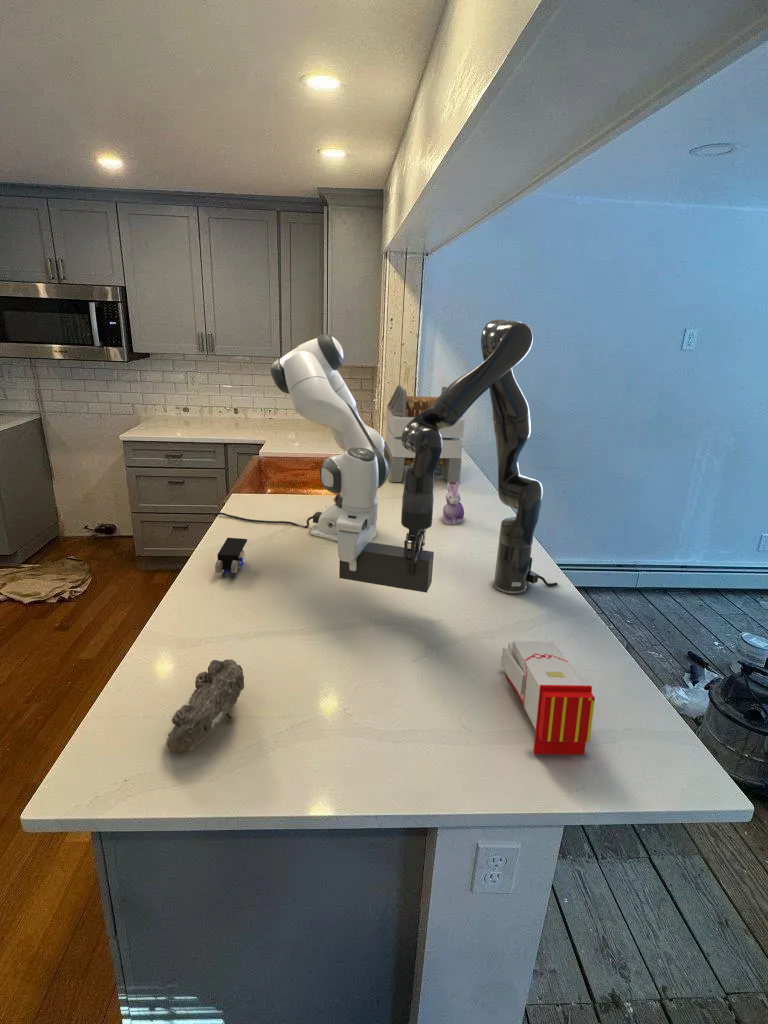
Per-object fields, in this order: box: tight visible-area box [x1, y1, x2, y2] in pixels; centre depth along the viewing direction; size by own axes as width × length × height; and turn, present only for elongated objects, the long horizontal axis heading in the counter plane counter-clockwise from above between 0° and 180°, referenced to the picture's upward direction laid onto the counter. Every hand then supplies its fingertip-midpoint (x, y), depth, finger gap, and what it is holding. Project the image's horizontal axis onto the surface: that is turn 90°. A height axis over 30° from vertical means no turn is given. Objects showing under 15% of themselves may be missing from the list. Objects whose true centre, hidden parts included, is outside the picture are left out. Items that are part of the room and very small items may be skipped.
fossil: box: [166, 658, 245, 754], centre depth 106 cm, size 22×10×15 cm
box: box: [338, 541, 435, 593], centre depth 144 cm, size 23×6×9 cm, turn 74°
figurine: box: [441, 482, 465, 525], centre depth 212 cm, size 9×10×15 cm
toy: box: [500, 640, 596, 756], centre depth 114 cm, size 12×13×30 cm
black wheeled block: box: [214, 537, 248, 578], centre depth 166 cm, size 7×8×15 cm
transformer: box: [383, 384, 465, 484], centre depth 268 cm, size 34×33×41 cm
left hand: (358, 563), depth 146 cm, fingers closed on box, 6 cm apart
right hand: (413, 569), depth 142 cm, fingers closed on box, 6 cm apart
